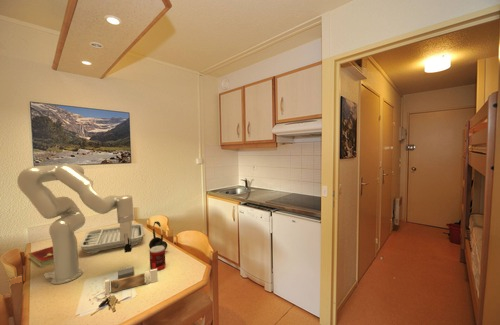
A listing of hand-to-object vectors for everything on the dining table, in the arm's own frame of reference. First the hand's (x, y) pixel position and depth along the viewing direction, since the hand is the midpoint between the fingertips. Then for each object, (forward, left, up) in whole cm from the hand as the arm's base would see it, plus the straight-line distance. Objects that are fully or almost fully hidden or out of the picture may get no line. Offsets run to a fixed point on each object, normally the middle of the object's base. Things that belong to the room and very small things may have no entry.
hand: (128, 251), depth 115 cm
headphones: (+15, +16, -11) cm, 24 cm away
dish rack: (-12, +44, -11) cm, 47 cm away
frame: (+3, -17, -11) cm, 21 cm away
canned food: (+14, -4, -11) cm, 19 cm away
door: (+1, -18, -10) cm, 21 cm away
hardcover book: (-46, +38, -11) cm, 61 cm away
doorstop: (-1, -8, -11) cm, 13 cm away
